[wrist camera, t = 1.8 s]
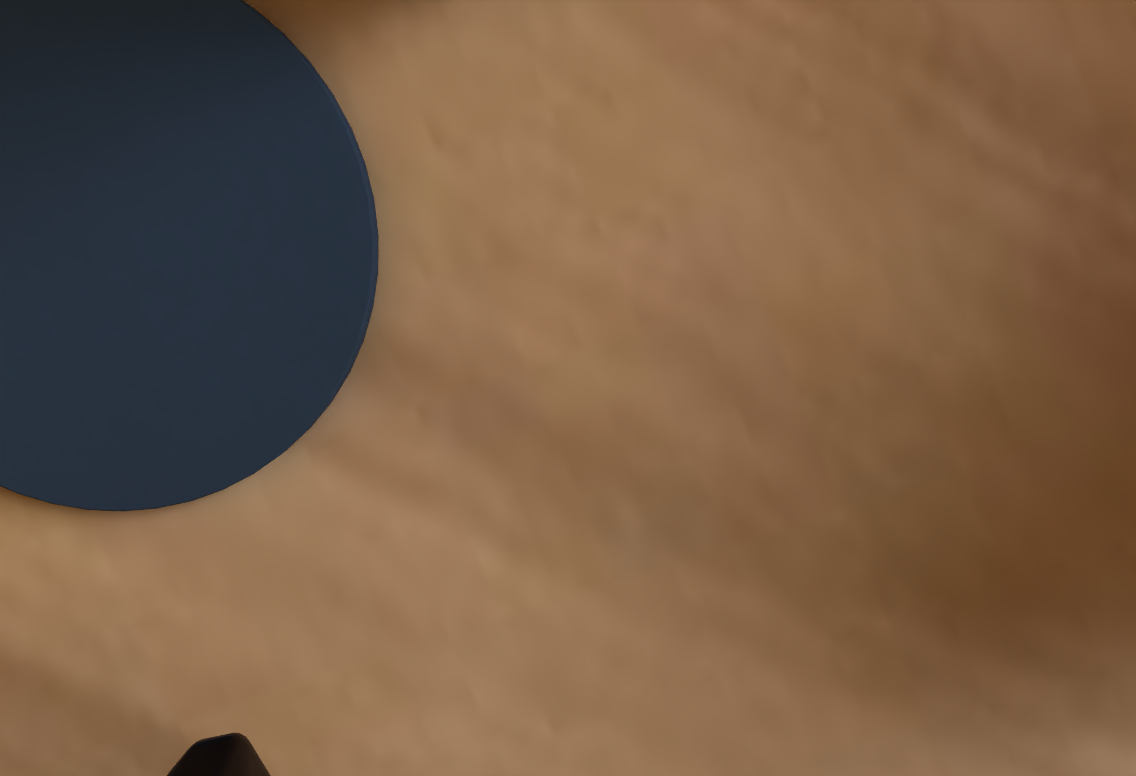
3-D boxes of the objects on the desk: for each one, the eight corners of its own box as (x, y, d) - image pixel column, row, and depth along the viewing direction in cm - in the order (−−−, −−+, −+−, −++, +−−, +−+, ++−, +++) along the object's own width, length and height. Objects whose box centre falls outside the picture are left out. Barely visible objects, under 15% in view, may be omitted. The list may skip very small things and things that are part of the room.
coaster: (320, 557, 20) (314, 565, 19) (-198, 436, 19) (-218, 442, 19) (431, 31, 18) (428, 26, 18) (-137, -115, 18) (-158, -125, 17)
